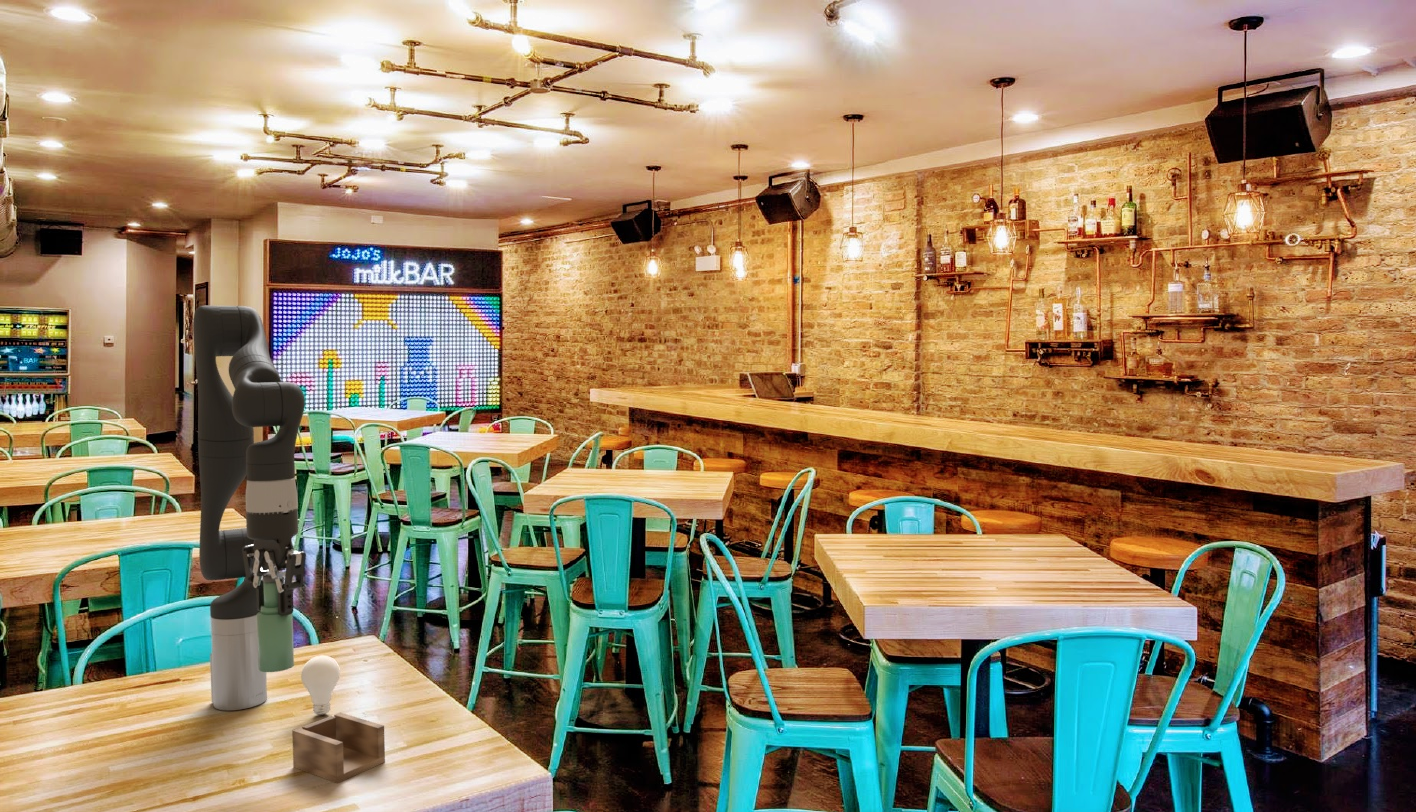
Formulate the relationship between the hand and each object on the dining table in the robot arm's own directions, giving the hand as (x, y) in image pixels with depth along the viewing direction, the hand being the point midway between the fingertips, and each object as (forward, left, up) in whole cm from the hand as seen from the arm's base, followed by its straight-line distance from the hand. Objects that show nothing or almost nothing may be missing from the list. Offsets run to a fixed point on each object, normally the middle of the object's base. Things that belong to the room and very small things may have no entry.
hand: (275, 611), depth 154 cm
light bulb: (-12, +17, -25) cm, 33 cm away
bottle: (0, 0, -9) cm, 9 cm away
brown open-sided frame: (+9, +5, -25) cm, 27 cm away
